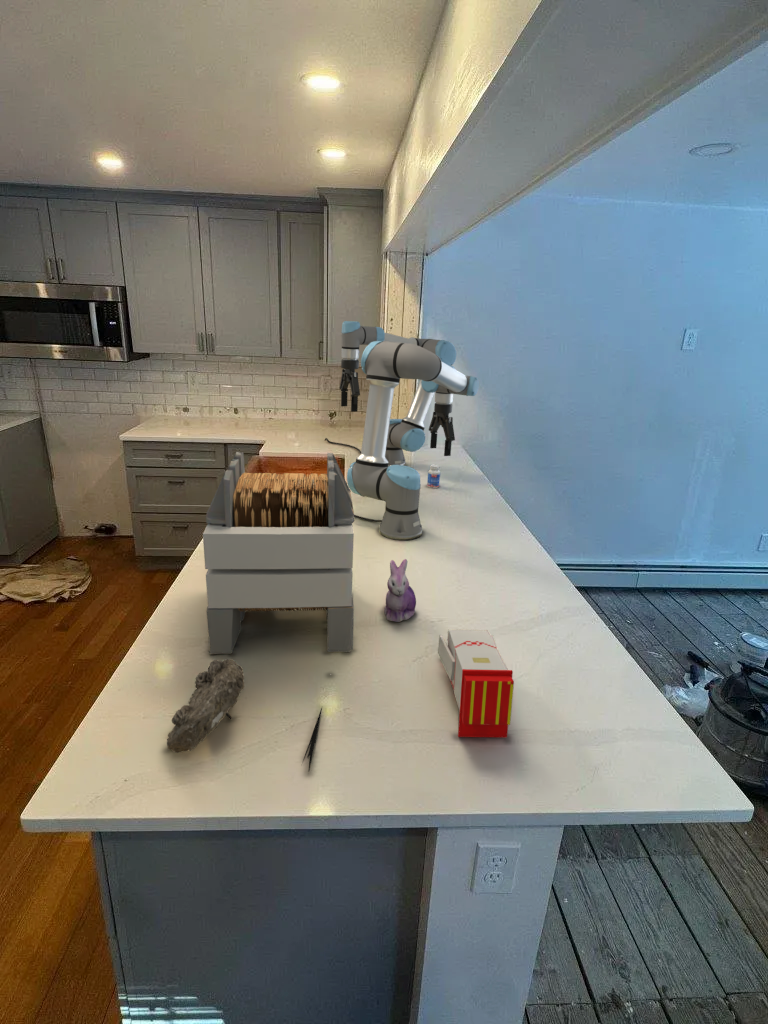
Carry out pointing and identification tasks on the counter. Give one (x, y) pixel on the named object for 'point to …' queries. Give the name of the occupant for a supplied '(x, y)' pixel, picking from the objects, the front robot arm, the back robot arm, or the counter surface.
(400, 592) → the figurine
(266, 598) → the record crate stand
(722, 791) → the counter surface
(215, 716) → the fossil
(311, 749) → the feather
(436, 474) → the pill bottle
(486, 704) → the toy
